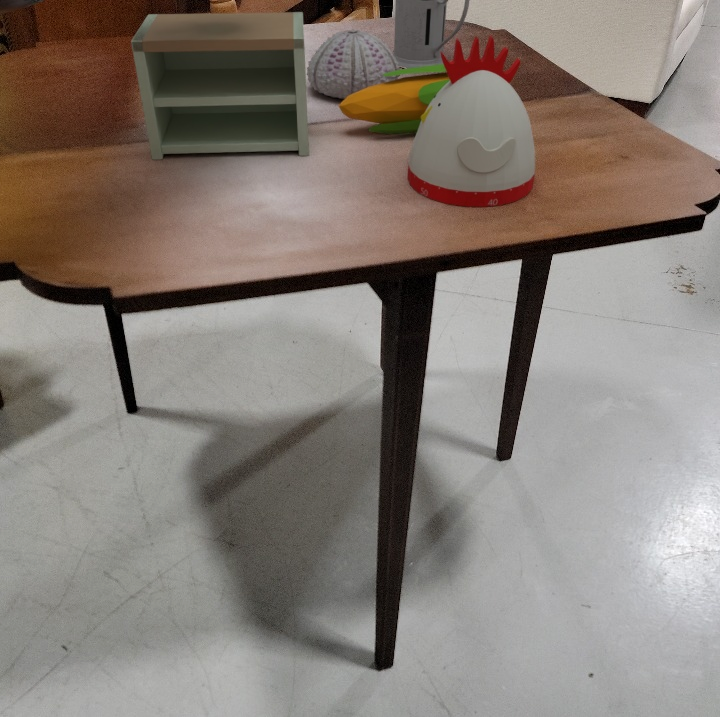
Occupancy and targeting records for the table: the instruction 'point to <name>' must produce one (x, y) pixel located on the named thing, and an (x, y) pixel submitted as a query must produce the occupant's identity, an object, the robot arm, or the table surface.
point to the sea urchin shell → (350, 64)
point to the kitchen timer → (474, 135)
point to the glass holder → (421, 31)
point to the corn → (396, 100)
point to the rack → (223, 82)
